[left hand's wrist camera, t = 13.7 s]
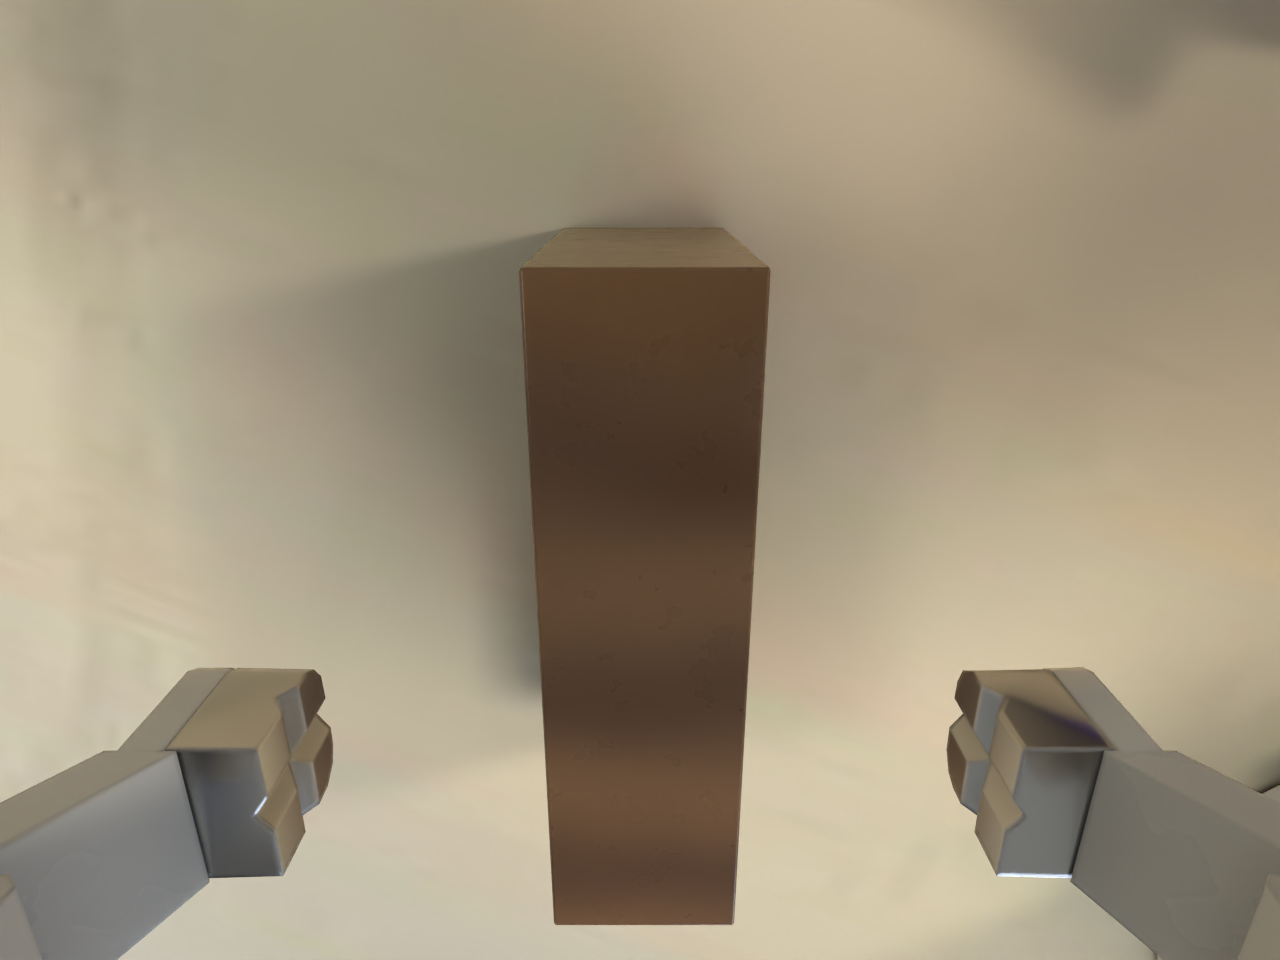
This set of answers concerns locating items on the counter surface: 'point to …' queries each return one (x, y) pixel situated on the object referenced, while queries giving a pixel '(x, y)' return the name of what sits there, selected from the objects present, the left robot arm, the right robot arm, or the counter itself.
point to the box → (644, 560)
